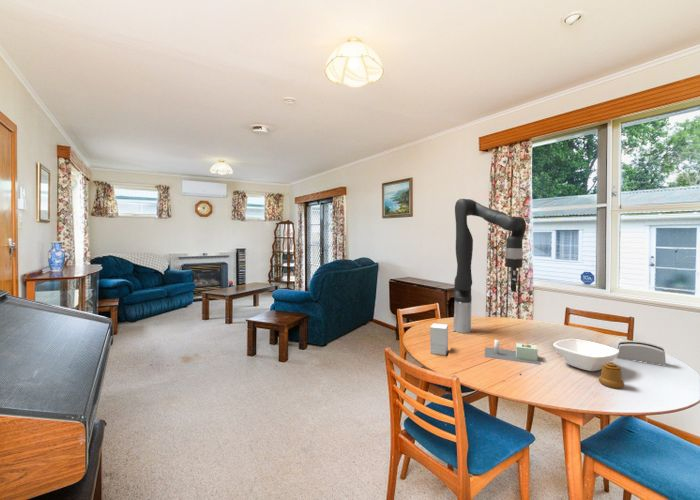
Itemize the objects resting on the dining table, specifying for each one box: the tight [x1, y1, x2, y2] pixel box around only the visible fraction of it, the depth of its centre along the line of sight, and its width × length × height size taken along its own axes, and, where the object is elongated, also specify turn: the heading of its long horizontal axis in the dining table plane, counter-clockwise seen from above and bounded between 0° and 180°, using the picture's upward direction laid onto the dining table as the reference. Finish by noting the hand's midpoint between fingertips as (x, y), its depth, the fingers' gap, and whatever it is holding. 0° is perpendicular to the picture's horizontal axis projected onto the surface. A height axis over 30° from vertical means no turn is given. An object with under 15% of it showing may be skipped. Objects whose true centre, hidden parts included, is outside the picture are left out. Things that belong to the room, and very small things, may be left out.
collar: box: [515, 342, 539, 361], centre depth 148 cm, size 8×6×5 cm
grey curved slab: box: [615, 340, 667, 366], centre depth 148 cm, size 17×5×10 cm, turn 55°
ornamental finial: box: [598, 362, 625, 390], centre depth 125 cm, size 8×8×8 cm
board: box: [483, 339, 542, 366], centre depth 151 cm, size 22×14×8 cm, turn 66°
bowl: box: [552, 338, 619, 372], centre depth 141 cm, size 21×21×9 cm
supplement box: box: [429, 323, 449, 356], centre depth 159 cm, size 7×7×13 cm
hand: (513, 290), depth 166 cm, fingers open, 8 cm apart
